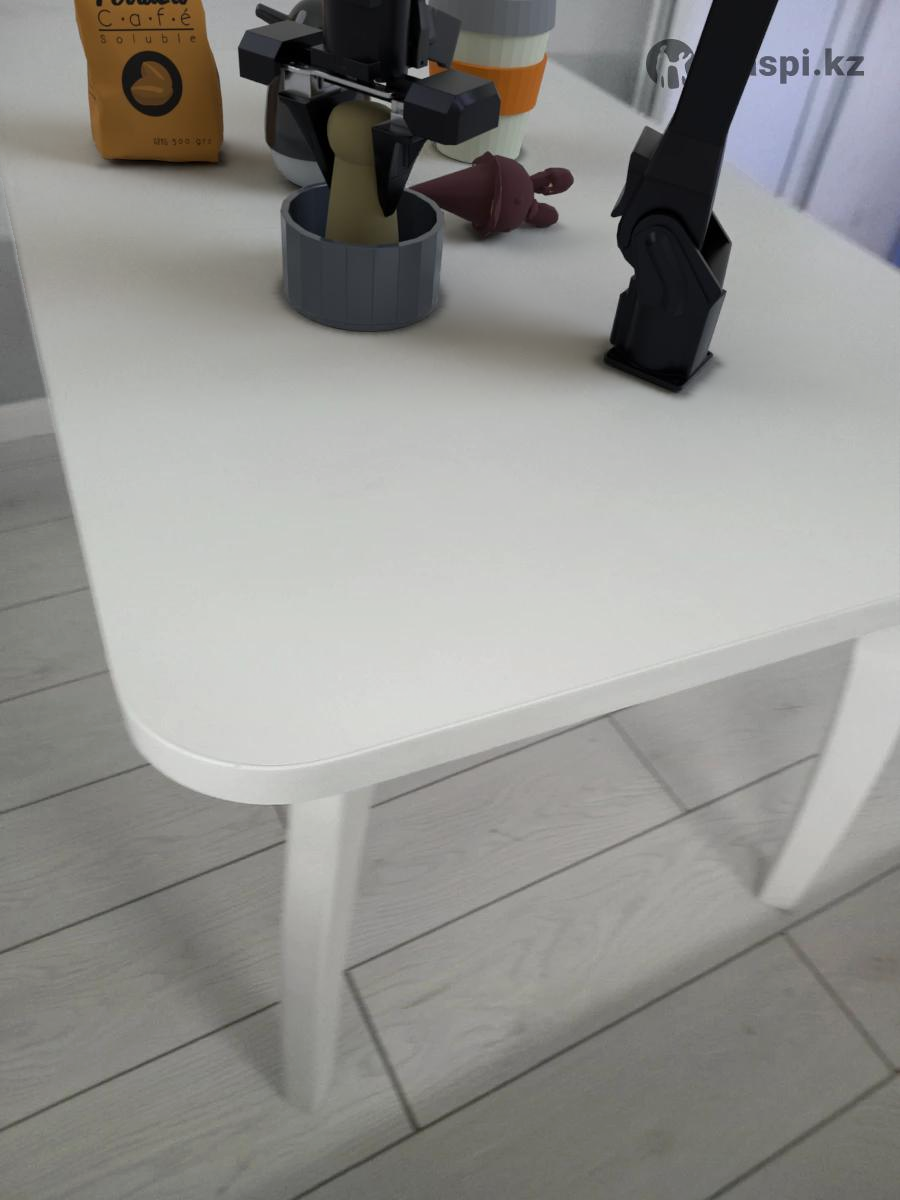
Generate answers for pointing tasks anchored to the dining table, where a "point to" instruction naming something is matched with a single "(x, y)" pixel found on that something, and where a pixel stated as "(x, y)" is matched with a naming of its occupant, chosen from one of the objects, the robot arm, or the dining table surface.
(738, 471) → the dining table surface
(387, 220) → the olive pawn
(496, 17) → the reusable coffee cup
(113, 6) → the coffee package
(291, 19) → the black glossy tall vessel
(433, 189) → the icecream
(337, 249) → the bowl
